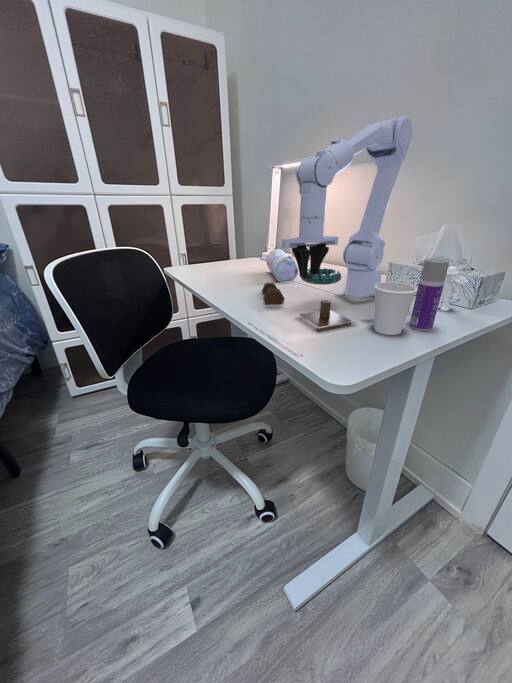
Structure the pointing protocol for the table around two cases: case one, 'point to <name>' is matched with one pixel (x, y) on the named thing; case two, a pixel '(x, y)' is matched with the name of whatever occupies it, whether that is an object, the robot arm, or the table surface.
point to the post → (326, 317)
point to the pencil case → (282, 266)
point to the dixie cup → (392, 306)
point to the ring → (323, 277)
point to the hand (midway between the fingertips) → (308, 276)
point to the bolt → (272, 294)
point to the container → (428, 294)
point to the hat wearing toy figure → (451, 286)
